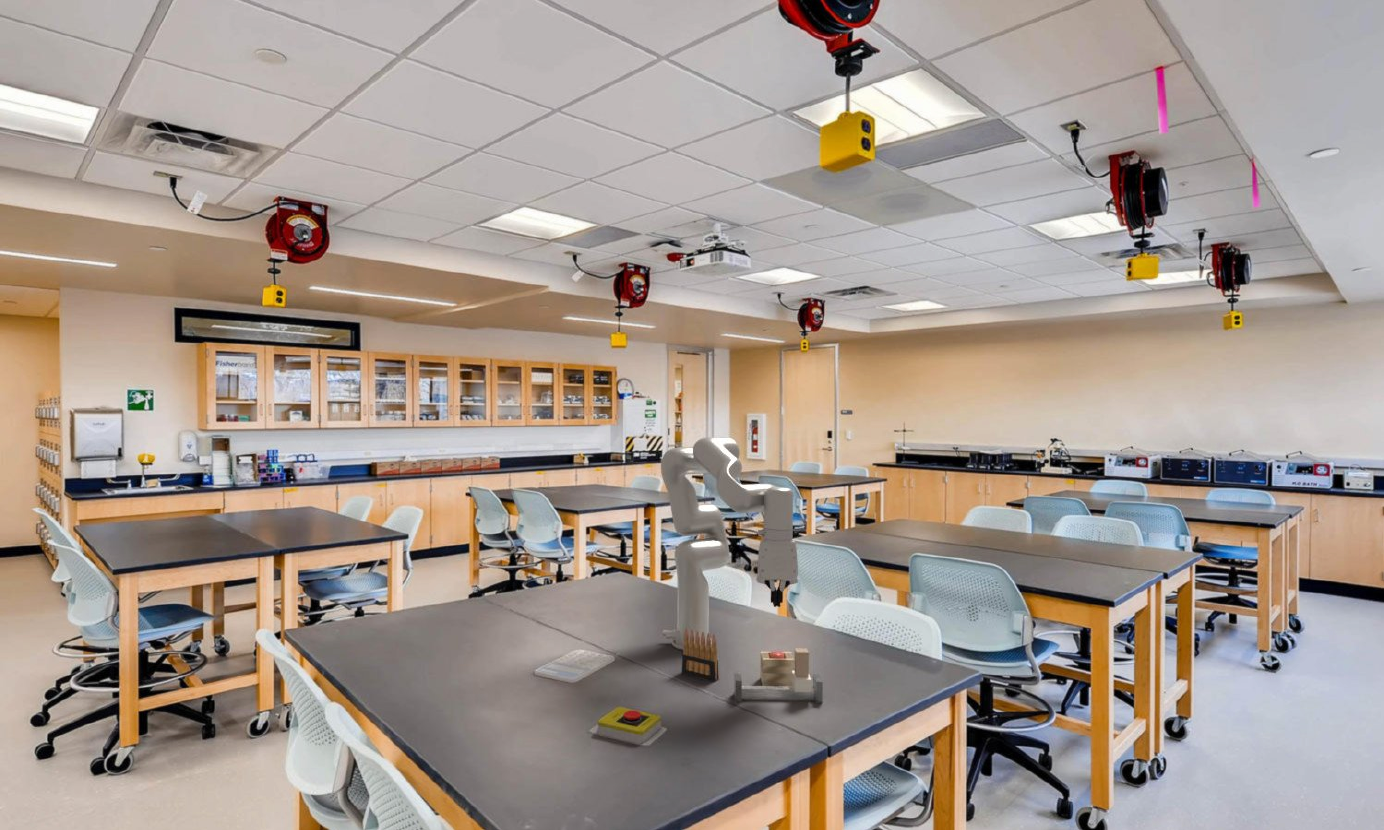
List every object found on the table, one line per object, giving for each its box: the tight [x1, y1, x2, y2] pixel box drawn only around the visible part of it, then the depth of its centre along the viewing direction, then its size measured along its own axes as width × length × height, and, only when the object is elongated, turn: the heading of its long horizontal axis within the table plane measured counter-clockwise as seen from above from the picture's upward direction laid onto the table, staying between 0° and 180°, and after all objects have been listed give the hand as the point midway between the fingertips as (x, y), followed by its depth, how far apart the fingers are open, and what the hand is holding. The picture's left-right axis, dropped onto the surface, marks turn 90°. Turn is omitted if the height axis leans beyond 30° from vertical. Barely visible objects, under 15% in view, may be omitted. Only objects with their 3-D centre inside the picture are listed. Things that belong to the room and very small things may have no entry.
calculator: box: [534, 648, 616, 684], centre depth 188 cm, size 13×20×2 cm, turn 153°
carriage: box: [792, 647, 813, 692], centre depth 168 cm, size 4×6×9 cm, turn 0°
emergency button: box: [588, 706, 668, 747], centre depth 149 cm, size 9×4×15 cm
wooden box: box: [760, 651, 795, 686], centre depth 178 cm, size 8×6×7 cm
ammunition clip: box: [681, 628, 720, 683], centre depth 182 cm, size 11×2×12 cm, turn 56°
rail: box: [733, 672, 824, 704], centre depth 168 cm, size 21×5×5 cm, turn 90°
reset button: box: [770, 650, 784, 659], centre depth 178 cm, size 4×4×4 cm
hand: (776, 605), depth 178 cm, fingers closed
